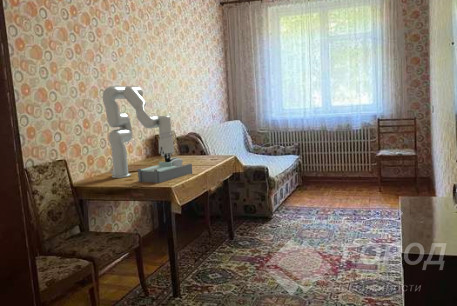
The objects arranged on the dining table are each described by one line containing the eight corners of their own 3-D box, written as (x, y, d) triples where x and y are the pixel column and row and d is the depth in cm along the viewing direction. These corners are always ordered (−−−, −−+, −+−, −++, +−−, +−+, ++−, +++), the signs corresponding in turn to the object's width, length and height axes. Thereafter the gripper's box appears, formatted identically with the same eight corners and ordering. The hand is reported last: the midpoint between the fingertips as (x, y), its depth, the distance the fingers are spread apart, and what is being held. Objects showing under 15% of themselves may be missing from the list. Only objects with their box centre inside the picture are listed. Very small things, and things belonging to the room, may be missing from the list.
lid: (139, 171, 264) (138, 165, 264) (156, 166, 278) (156, 161, 278) (159, 172, 256) (159, 166, 255) (176, 167, 270) (176, 162, 269)
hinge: (176, 167, 314) (179, 155, 311) (181, 170, 312) (184, 157, 309) (161, 172, 300) (164, 158, 297) (166, 174, 298) (169, 161, 295)
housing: (137, 183, 264) (136, 168, 262) (172, 173, 292) (171, 160, 291) (158, 184, 255) (157, 169, 254) (192, 174, 284) (191, 160, 282)
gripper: (168, 134, 281) (170, 162, 283) (153, 136, 268) (155, 166, 271) (177, 134, 277) (180, 162, 279) (162, 136, 264) (165, 166, 267)
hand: (168, 164), depth 275 cm, fingers closed
